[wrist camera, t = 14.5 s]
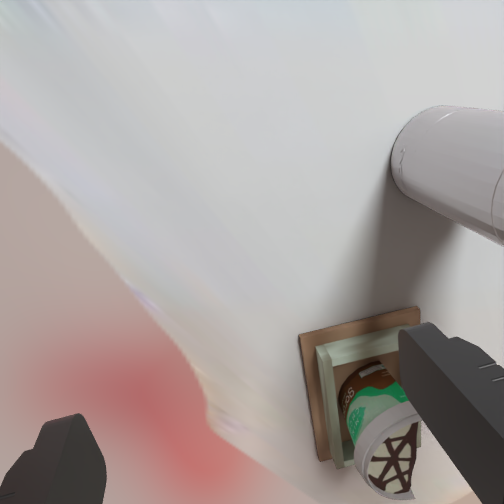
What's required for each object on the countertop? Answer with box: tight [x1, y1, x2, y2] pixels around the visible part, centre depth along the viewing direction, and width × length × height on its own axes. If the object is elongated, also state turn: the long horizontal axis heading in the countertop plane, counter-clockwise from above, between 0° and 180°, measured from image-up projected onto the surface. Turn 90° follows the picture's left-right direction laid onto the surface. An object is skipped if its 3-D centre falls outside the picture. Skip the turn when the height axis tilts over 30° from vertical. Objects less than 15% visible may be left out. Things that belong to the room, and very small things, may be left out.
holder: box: [299, 306, 421, 469], centre depth 48 cm, size 14×20×4 cm
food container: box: [338, 361, 422, 500], centre depth 44 cm, size 12×6×10 cm, turn 4°
